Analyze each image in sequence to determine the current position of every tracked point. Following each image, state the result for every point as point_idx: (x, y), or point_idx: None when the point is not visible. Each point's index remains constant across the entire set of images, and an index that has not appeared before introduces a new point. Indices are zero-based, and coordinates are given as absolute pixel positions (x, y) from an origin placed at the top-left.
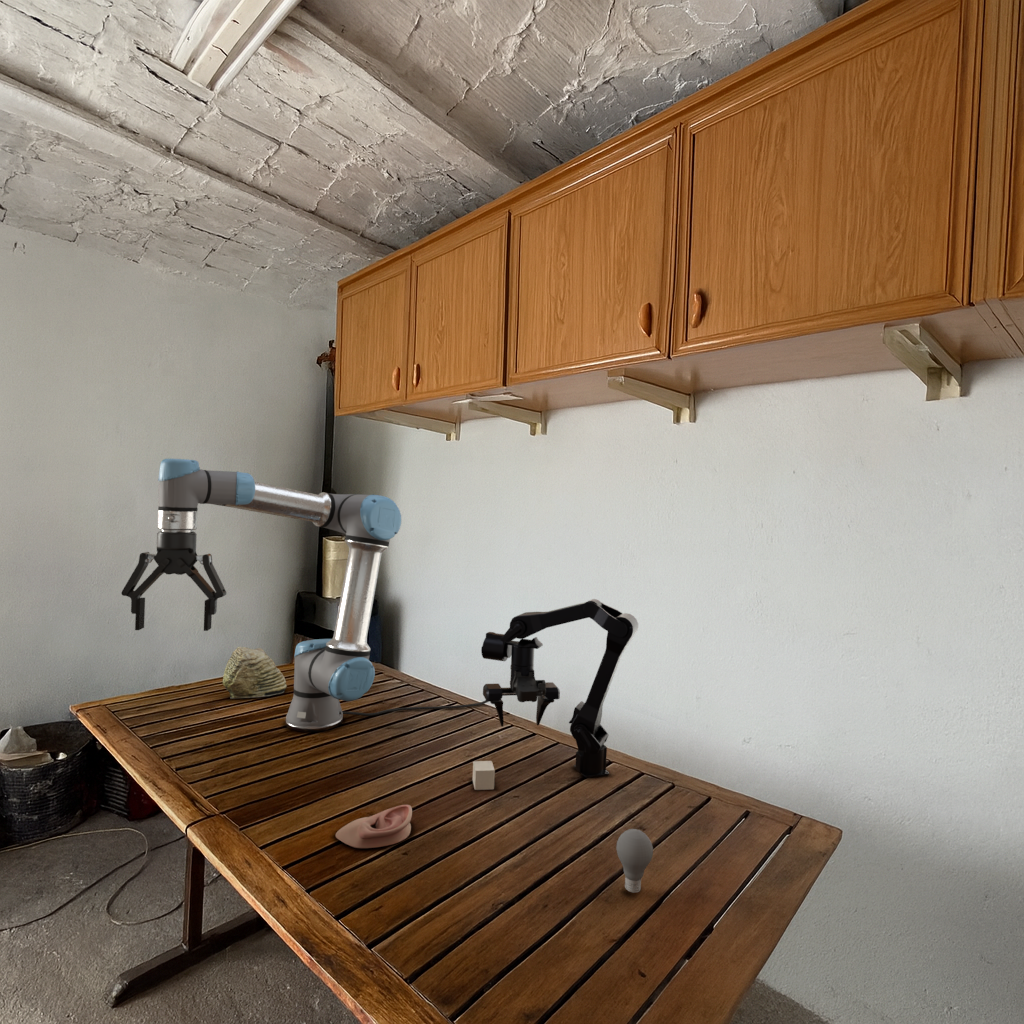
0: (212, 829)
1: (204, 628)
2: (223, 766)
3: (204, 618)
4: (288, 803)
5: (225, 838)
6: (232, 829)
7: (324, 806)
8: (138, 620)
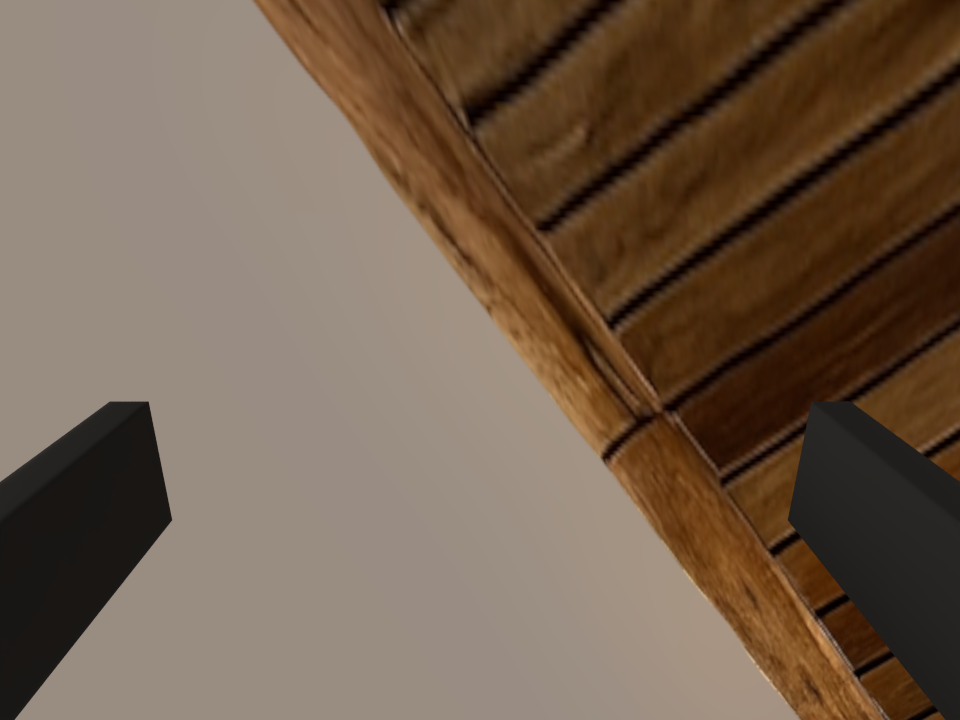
0: (660, 478)
1: (806, 533)
2: (617, 101)
3: (865, 613)
4: (830, 372)
5: (694, 515)
6: (704, 482)
7: (921, 394)
8: (109, 586)
